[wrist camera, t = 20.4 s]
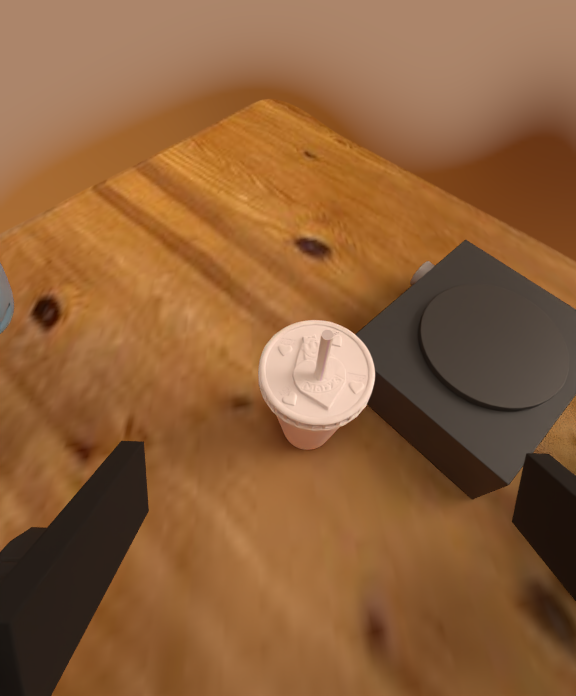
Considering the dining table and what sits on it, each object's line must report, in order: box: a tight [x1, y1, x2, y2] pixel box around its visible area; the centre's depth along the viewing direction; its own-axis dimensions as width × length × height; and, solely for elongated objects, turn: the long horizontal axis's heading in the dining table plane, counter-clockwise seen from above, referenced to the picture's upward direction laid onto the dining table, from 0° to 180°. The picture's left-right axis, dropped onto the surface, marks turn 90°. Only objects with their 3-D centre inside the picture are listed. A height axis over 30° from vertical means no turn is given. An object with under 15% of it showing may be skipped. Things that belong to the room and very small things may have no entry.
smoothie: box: [258, 320, 375, 450], centre depth 23 cm, size 6×6×14 cm
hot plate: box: [355, 240, 576, 499], centre depth 30 cm, size 14×15×6 cm
